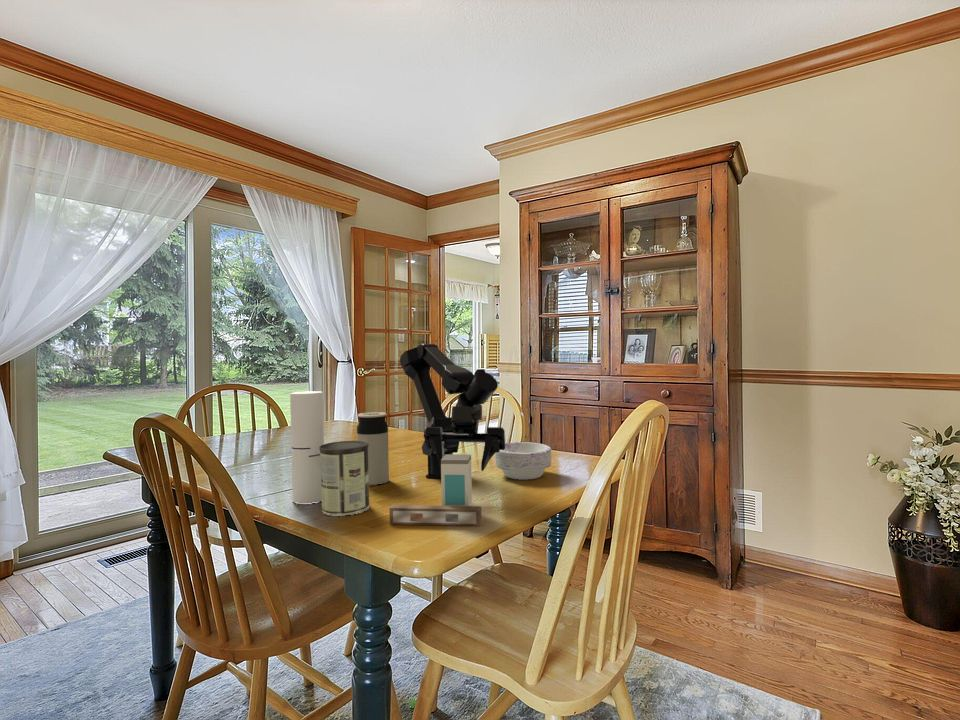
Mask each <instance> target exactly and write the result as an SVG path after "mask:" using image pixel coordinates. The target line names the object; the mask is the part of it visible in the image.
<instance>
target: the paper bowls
mask: <svg viewBox="0 0 960 720" xmlns="http://www.w3.org/2000/svg"><path fill="white" fill-rule="evenodd" d="M494 456H495V457H494V464H495V467H497V468H498V469H501V471H502V473H503V475H504V476H505V477H506V478H508V479H513V480H517V479H518V480H519V481H528V480H529V479H530V480H535V479H538V478H541V477H542V476H543V474H544V472H545V470H546V469H549V468H551V466H552V448H551V446H549V445H547V444H544V443H538V442H531V441H530V442H529V441H528V442H526V441H522V442H521V441H520V442H519V441H518V442H517V441H516V442H515V441H514V442H507V443H506V442H505V449H504V450H500V451H499V452H498V453H495V454H494ZM518 480H517V481H518ZM530 480H529V481H530Z"/></svg>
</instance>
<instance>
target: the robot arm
mask: <svg viewBox="0 0 960 720" xmlns="http://www.w3.org/2000/svg"><path fill="white" fill-rule="evenodd" d="M399 363H400V366H401V368H402V370H403V372H404V374H405V375H406V376H407V377H409V378H410V379H411V380H412V381H413V382H414V386H415V389H416V391H417V393H418V397H419V400H420V402H421V406H422V408H423V409H422V410H423V411H424V414H425V417H426V419H427V427H426V428H425V429H424V432H423V439H424V441H423V443H422V445H421V451H422V454H423V455H425V456H427V473H426V475H425V478H429V479H430V478H431V479H441V459H442V458H443V457H444V456H445V454H454V453H458V452H459V446H460V443H480V444H481V443H484V448H483V453H482V458H481V464H480V470H481V472H484V470H485V469H486V467H487V466H488V463H489V461H490V460H491V459H492V457H494V456H495V453H498V452H499V451H500V450H504V449H505V443H506V433H505V429H504V428H503V427H502V426H496V427H494V426H488V427H486V433H479V424H480V423H479V422H480V421H482V420H483V405H484V404H485V403H486V402H487V401H488V400H490V398H491V397H492V395H493V394H494V393H495V392H496V391H497V389H498V385H499V384H498V383H499V382H498V381H497V379H496V378H495V377H494V376H493V375H492V374H490V373H488V372H486V370H485V369H484V368H478V369H476V370H475V372H474V373H473V372H472V371H471V370H469V369H467V368H466V367H462V366H460V365H459V366H458V365H457V364H455V363H454V362H453V361H452V360H450V358H449V357H448V356H447V355H446V354H445V353H444V352H442V351H441V350H440V348H439V346H438V345H437V344H435V343H422V344H419V345H417V346H416V347H413V348H411V349H407V350H405V351H404V352H403V353H402V354H401V355H400V357H399ZM431 368H432V369H433V370H434V371H435V373H436V374H438V376H439V377H440V378H441V386H442V387H443V388H444V390H445V391H446V393H447V394H448V395H458V396H457V401H456V404H455V406H452V407H451V417H447V416H446V415H445V412H444V410H443V407H442V404H441V402H440V399H439V396H438V394H437V390H436V389H435V385H434V383H433V381H432V378H431V374H430V371H431Z"/></svg>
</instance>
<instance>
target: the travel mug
mask: <svg viewBox="0 0 960 720" xmlns="http://www.w3.org/2000/svg"><path fill="white" fill-rule="evenodd" d="M386 416H387V412H382V411H380V412H379V411H378V412H377V411H376V412H375V411H374V412H373V411H371V412H369V411H368V412H361V413H358V414H357V417H358V421H359V422H358V424H357V426H356V441H363V442H367V443H368V444H369V446H368V473H369V485H374V486H378V485H377V484H381V485H384V484H386V483H387V482H389V481H390V470H389V469H390V467H389V463H390V462H389V425H388V423H387V421H386ZM383 483H384V484H383Z"/></svg>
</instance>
